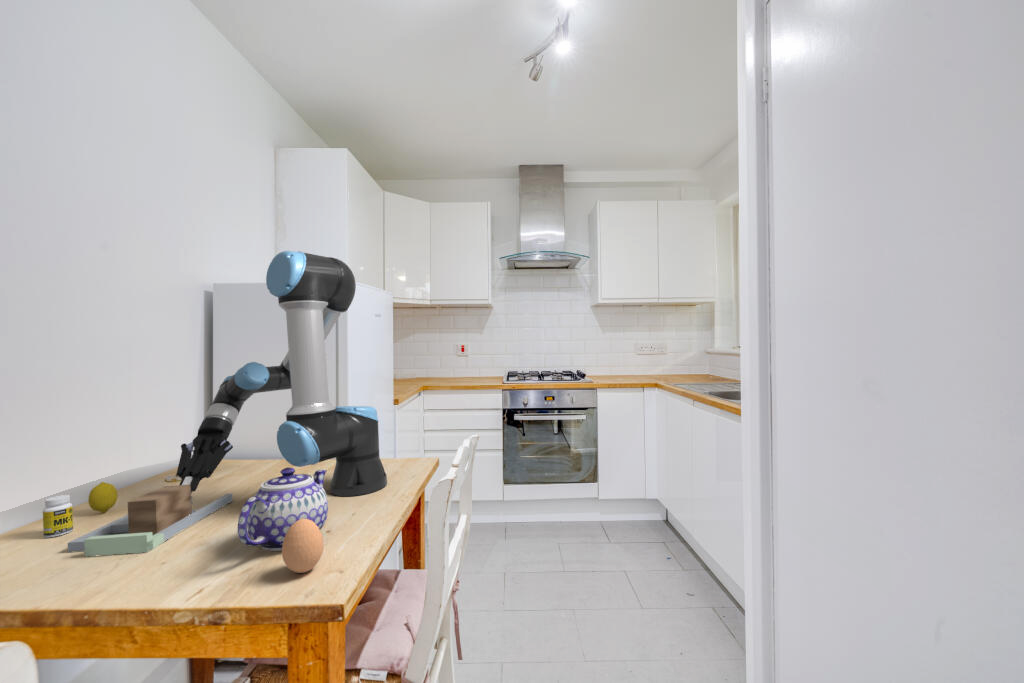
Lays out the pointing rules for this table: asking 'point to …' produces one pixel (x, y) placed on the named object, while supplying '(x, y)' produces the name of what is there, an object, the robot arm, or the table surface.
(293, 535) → the egg
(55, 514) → the supplement bottle
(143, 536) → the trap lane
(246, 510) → the teapot
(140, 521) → the walnut block
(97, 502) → the lemon
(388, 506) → the table surface
